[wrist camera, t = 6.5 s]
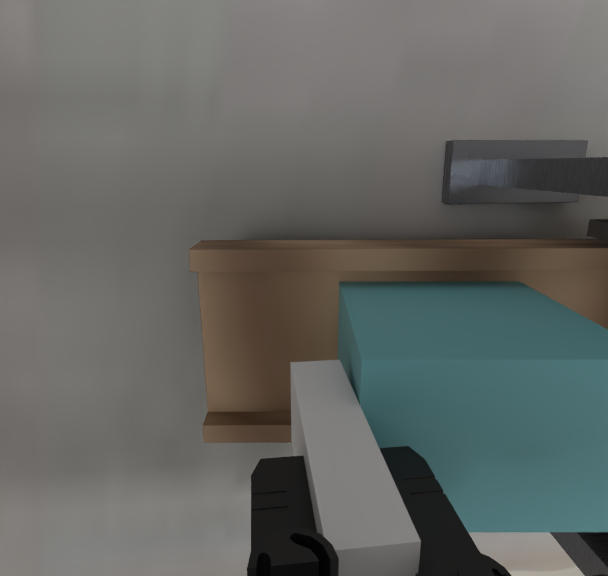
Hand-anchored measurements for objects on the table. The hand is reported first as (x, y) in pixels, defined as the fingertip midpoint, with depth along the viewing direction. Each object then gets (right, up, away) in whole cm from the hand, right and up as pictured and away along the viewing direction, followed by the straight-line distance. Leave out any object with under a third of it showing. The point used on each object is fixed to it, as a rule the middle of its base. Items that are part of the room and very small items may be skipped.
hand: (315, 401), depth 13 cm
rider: (+5, +1, +4) cm, 6 cm away
